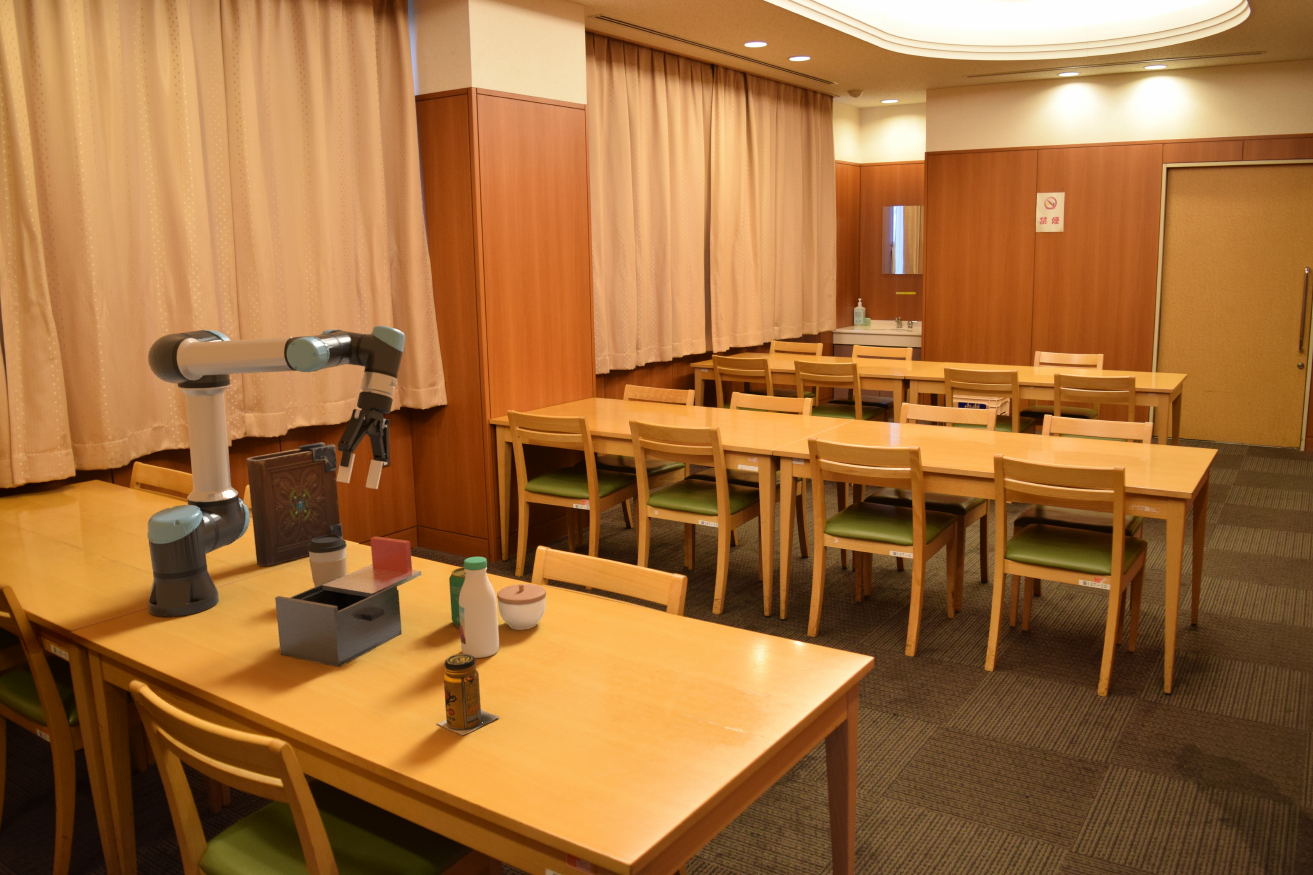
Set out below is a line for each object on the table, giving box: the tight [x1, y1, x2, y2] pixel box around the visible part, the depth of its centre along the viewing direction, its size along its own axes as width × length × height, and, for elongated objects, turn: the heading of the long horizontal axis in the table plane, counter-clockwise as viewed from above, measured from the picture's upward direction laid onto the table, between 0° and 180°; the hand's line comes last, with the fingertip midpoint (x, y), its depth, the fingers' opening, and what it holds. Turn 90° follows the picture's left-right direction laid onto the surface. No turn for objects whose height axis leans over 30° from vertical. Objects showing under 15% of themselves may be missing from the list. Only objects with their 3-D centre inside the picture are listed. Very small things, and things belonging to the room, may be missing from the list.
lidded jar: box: [496, 583, 547, 631], centre depth 215 cm, size 11×11×9 cm
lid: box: [322, 535, 422, 597], centre depth 214 cm, size 16×14×8 cm
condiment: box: [436, 653, 501, 736], centre depth 170 cm, size 7×8×12 cm
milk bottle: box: [459, 556, 500, 659], centre depth 200 cm, size 8×8×20 cm
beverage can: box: [448, 566, 466, 629], centre depth 217 cm, size 8×8×12 cm
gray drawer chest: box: [274, 576, 402, 668], centre depth 206 cm, size 19×21×12 cm
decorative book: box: [246, 442, 344, 567], centre depth 268 cm, size 23×7×30 cm, turn 139°
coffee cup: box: [307, 534, 348, 587], centre depth 236 cm, size 9×9×15 cm
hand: (357, 485), depth 219 cm, fingers open, 13 cm apart
